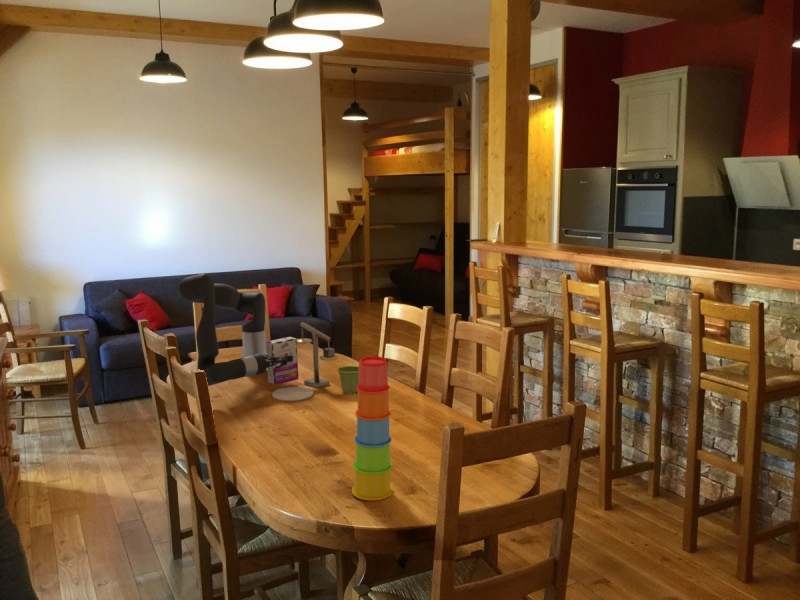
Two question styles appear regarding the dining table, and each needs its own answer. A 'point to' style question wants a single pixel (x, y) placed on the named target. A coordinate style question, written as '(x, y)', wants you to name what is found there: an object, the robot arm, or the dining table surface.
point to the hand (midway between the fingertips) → (287, 357)
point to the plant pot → (349, 378)
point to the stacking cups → (372, 432)
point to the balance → (327, 355)
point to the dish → (292, 393)
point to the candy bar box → (280, 349)
